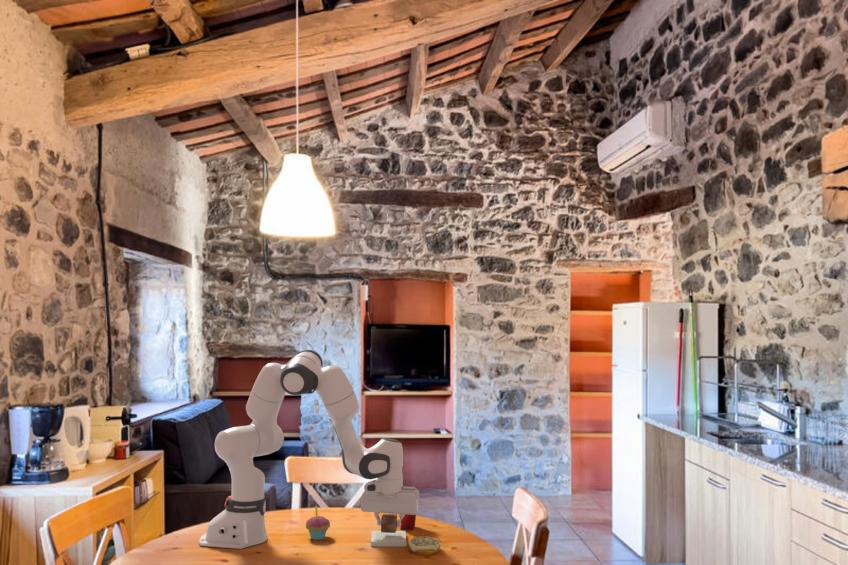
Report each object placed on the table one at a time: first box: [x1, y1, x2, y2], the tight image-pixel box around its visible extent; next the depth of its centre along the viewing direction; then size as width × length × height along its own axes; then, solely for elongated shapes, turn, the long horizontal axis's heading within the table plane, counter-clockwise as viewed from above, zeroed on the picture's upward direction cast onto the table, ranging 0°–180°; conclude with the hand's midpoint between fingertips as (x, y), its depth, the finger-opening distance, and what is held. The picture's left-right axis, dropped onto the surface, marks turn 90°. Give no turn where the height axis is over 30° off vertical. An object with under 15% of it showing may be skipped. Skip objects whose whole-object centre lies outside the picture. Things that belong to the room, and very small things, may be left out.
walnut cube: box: [380, 513, 398, 533], centre depth 228 cm, size 5×5×5 cm
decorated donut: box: [408, 536, 441, 557], centre depth 219 cm, size 10×11×4 cm
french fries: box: [399, 485, 417, 531], centre depth 243 cm, size 9×8×15 cm
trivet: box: [370, 530, 407, 547], centre depth 228 cm, size 12×12×2 cm
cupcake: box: [305, 504, 331, 541], centre depth 230 cm, size 9×8×12 cm
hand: (389, 525), depth 228 cm, fingers closed on walnut cube, 5 cm apart
